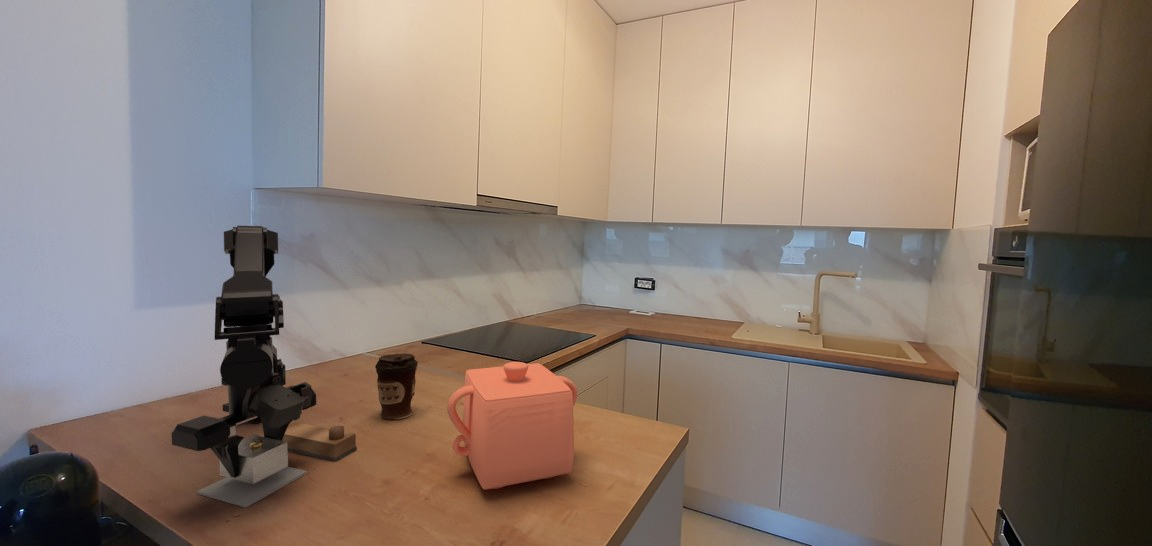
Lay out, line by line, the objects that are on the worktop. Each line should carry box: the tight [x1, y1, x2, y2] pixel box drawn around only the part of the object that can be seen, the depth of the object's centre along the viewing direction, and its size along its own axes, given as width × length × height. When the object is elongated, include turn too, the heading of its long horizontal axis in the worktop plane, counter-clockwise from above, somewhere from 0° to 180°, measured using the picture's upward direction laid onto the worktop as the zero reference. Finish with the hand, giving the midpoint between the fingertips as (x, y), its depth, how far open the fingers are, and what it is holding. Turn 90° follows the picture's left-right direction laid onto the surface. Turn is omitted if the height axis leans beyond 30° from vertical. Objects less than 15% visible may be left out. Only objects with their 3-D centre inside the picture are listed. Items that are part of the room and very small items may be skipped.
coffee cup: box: [374, 353, 419, 420], centre depth 99 cm, size 9×8×13 cm
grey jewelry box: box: [218, 434, 289, 484], centre depth 71 cm, size 7×6×5 cm
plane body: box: [282, 420, 358, 462], centre depth 83 cm, size 16×5×5 cm, turn 72°
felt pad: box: [196, 466, 308, 508], centre depth 71 cm, size 10×10×1 cm
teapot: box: [446, 361, 578, 491], centre depth 81 cm, size 25×23×18 cm
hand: (254, 467), depth 71 cm, fingers closed on grey jewelry box, 6 cm apart
